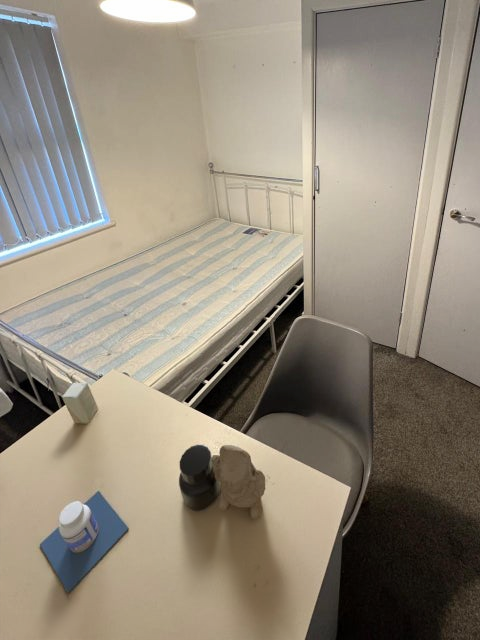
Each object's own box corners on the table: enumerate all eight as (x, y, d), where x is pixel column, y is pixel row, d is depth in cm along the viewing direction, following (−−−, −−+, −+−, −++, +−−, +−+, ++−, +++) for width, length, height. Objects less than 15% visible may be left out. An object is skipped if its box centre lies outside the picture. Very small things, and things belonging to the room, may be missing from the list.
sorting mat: (40, 545, 67) (39, 544, 67) (98, 491, 76) (98, 490, 76) (68, 593, 61) (67, 593, 61) (129, 529, 70) (128, 528, 70)
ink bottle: (214, 462, 82) (208, 431, 77) (229, 493, 76) (223, 462, 71) (176, 487, 77) (167, 456, 72) (188, 523, 71) (179, 491, 66)
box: (85, 407, 97) (74, 381, 92) (98, 408, 97) (88, 381, 92) (73, 424, 92) (60, 397, 87) (87, 424, 92) (76, 397, 87)
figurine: (209, 512, 72) (196, 458, 64) (225, 479, 79) (216, 425, 70) (260, 535, 69) (254, 480, 60) (273, 498, 75) (269, 443, 67)
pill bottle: (81, 520, 71) (68, 495, 67) (104, 523, 70) (92, 498, 66) (63, 552, 66) (47, 527, 62) (87, 555, 66) (73, 530, 62)
